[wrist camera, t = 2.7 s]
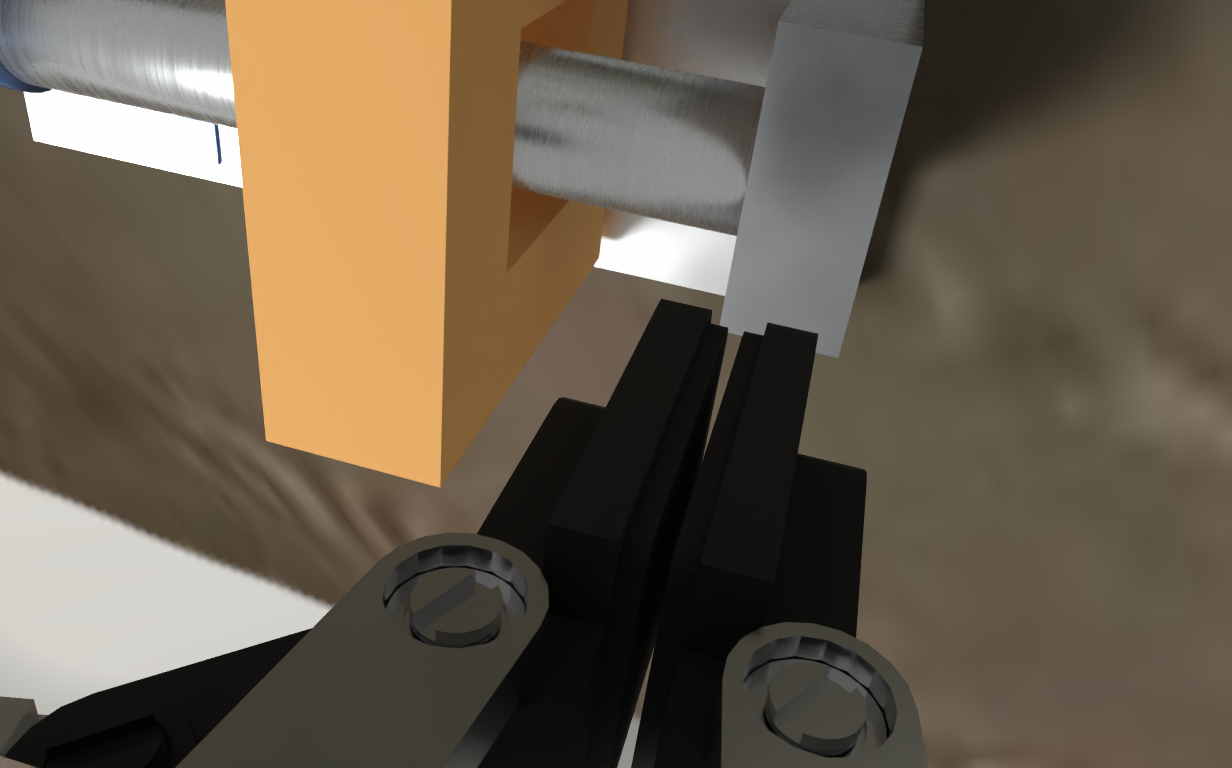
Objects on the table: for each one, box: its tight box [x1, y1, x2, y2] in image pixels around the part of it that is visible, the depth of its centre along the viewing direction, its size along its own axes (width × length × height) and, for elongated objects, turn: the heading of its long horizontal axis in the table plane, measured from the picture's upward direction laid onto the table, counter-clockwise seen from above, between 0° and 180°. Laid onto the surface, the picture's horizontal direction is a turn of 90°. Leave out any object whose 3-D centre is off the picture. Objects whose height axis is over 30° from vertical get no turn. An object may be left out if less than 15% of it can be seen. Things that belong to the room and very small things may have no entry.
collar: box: [225, 0, 629, 487], centre depth 17 cm, size 3×9×9 cm, turn 173°
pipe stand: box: [0, 0, 925, 358], centre depth 20 cm, size 21×10×8 cm, turn 83°
